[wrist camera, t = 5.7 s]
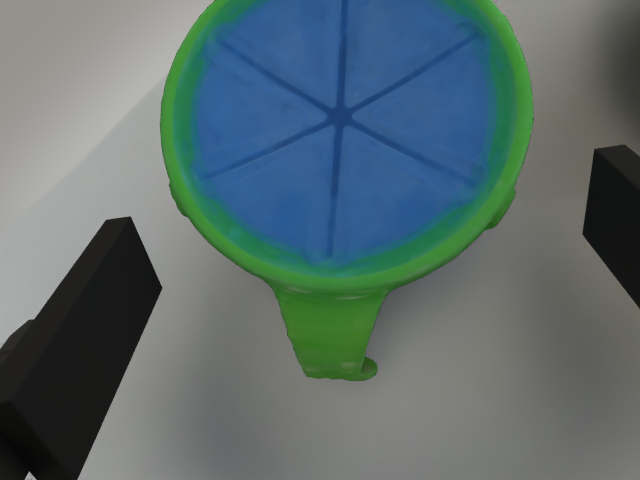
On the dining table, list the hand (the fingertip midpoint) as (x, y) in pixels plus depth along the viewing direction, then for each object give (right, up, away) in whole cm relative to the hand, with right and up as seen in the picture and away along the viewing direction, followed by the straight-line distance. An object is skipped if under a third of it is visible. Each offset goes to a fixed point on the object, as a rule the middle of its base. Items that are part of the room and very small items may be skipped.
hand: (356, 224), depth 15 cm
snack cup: (+1, +1, +9) cm, 10 cm away
